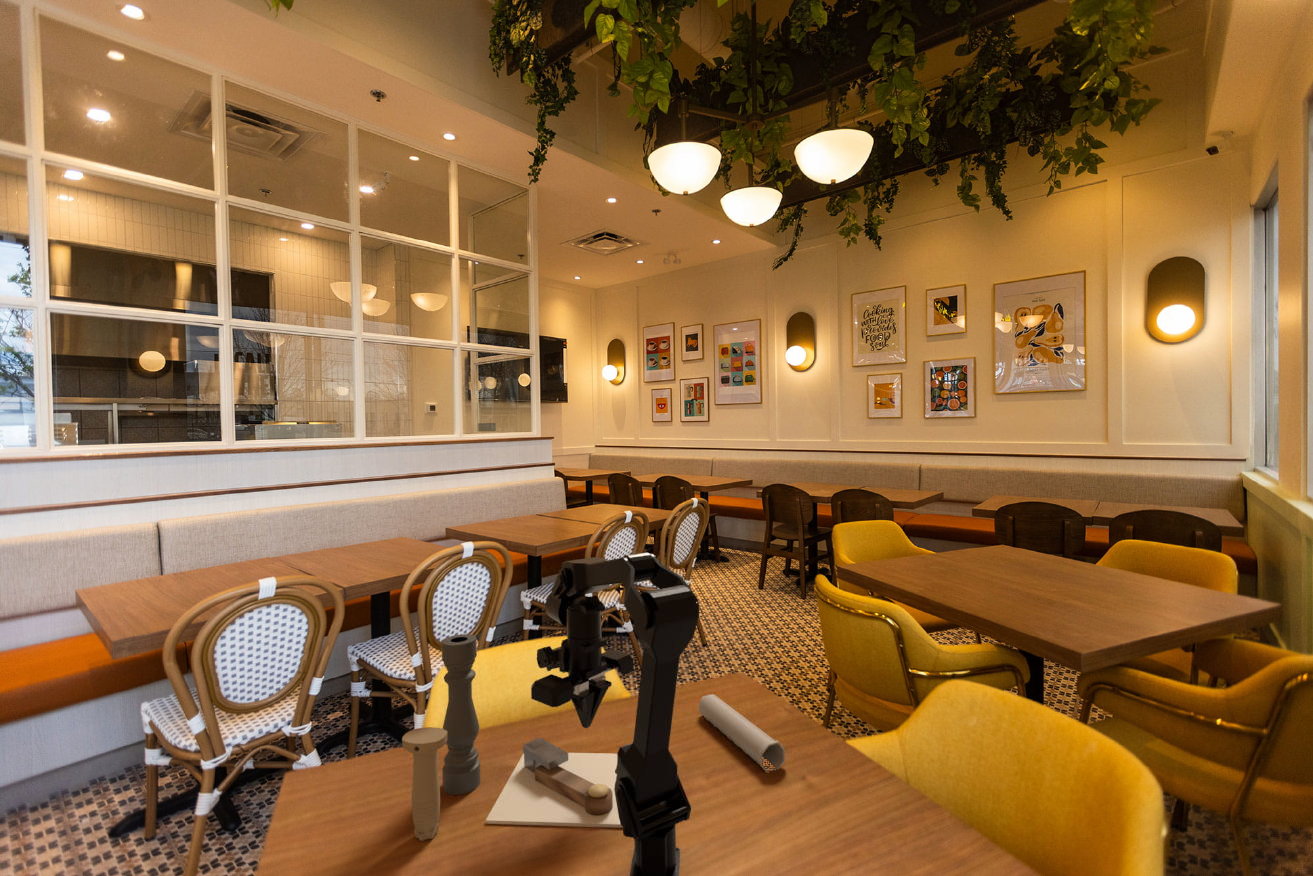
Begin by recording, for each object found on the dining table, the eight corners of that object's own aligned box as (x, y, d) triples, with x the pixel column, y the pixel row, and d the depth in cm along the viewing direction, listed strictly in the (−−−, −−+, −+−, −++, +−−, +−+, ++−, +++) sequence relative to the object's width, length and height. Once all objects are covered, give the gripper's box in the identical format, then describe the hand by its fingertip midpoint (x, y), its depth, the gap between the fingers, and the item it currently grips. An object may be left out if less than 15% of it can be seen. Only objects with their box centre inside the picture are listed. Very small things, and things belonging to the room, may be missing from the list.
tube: (690, 697, 125) (757, 752, 102) (711, 685, 127) (780, 736, 105) (698, 720, 126) (765, 779, 103) (718, 707, 128) (789, 762, 105)
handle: (439, 847, 86) (437, 744, 86) (397, 844, 86) (395, 742, 87) (454, 825, 90) (452, 728, 91) (415, 823, 91) (413, 726, 91)
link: (618, 805, 94) (618, 792, 94) (598, 819, 90) (598, 806, 90) (551, 770, 104) (551, 759, 104) (531, 781, 101) (531, 770, 101)
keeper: (568, 776, 102) (568, 753, 102) (549, 786, 99) (549, 762, 99) (540, 758, 108) (540, 736, 108) (521, 767, 105) (521, 745, 105)
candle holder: (434, 789, 100) (432, 642, 100) (462, 771, 106) (459, 631, 106) (461, 799, 97) (458, 648, 97) (488, 779, 103) (485, 636, 103)
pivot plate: (626, 827, 89) (626, 806, 89) (485, 823, 91) (485, 802, 91) (640, 756, 109) (640, 739, 109) (524, 754, 111) (524, 736, 111)
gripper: (590, 612, 111) (592, 695, 111) (508, 639, 97) (510, 734, 97) (634, 623, 104) (636, 711, 104) (553, 654, 90) (555, 756, 89)
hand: (586, 727), depth 99 cm, fingers closed
